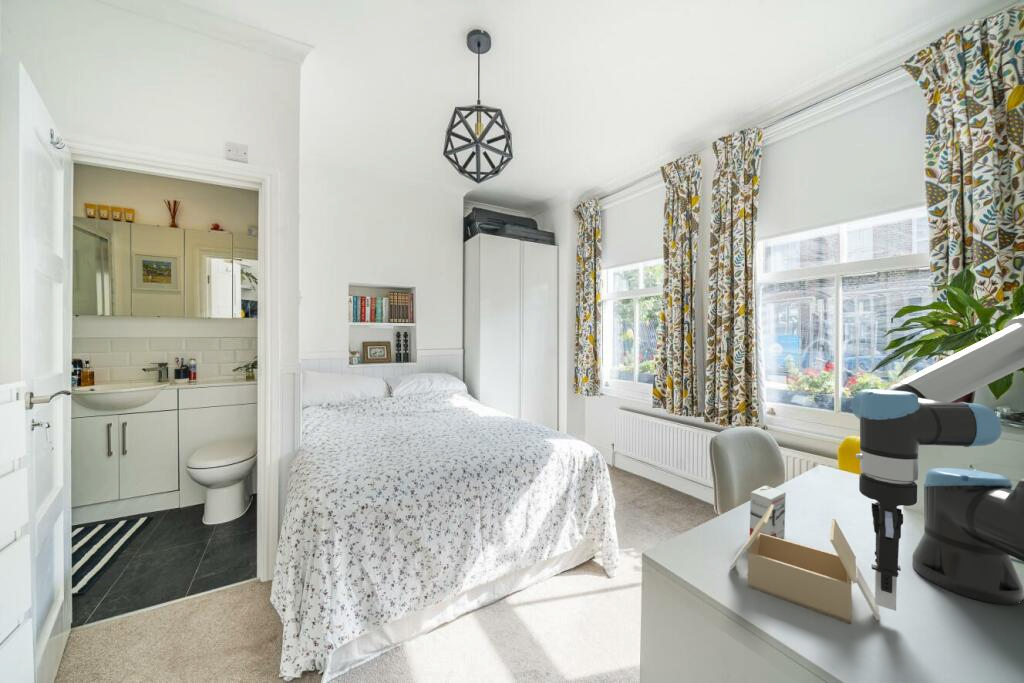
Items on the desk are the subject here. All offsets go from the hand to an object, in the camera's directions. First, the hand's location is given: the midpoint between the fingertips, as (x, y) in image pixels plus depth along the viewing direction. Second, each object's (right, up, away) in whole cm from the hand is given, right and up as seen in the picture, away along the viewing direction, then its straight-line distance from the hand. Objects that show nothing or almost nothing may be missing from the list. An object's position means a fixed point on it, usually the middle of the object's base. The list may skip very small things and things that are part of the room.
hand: (885, 605), depth 71 cm
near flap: (-3, +5, +3) cm, 6 cm away
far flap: (-16, +5, +14) cm, 21 cm away
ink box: (-3, -2, +29) cm, 29 cm away
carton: (-10, -3, +8) cm, 13 cm away
